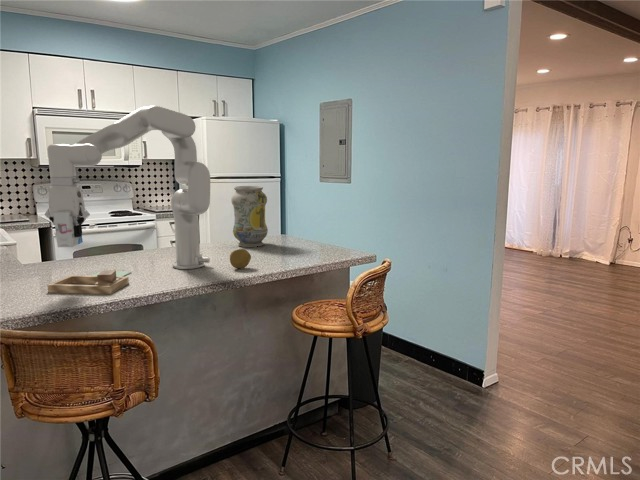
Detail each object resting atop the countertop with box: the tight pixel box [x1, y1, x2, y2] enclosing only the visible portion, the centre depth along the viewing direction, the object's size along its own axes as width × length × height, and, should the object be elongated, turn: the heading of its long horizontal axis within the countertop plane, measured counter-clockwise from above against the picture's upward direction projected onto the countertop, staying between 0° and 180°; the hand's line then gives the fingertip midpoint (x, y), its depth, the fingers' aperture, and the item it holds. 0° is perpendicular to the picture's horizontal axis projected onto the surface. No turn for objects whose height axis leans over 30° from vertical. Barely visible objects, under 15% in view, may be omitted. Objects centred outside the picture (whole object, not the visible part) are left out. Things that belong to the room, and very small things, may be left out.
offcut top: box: [97, 269, 117, 284], centre depth 157 cm, size 4×6×3 cm
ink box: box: [53, 211, 83, 248], centre depth 155 cm, size 9×5×12 cm, turn 5°
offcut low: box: [94, 278, 120, 286], centre depth 158 cm, size 5×7×3 cm
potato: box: [229, 248, 252, 269], centre depth 187 cm, size 7×8×8 cm
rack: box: [47, 274, 130, 295], centre depth 158 cm, size 21×13×2 cm, turn 86°
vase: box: [231, 185, 269, 248], centre depth 236 cm, size 18×18×30 cm
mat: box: [90, 270, 132, 277], centre depth 173 cm, size 12×14×1 cm
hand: (69, 236), depth 156 cm, fingers closed on ink box, 5 cm apart
